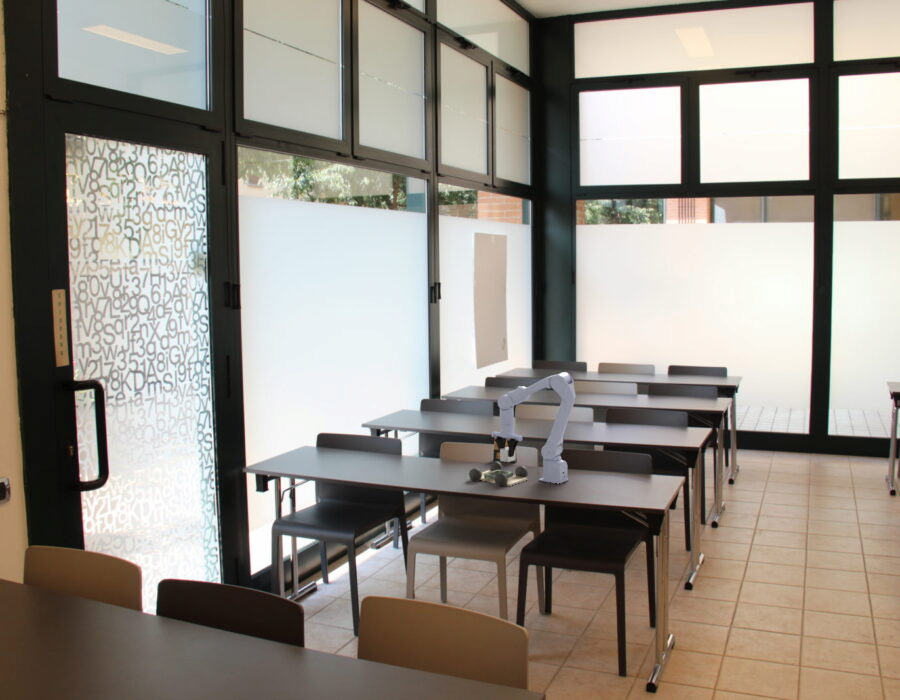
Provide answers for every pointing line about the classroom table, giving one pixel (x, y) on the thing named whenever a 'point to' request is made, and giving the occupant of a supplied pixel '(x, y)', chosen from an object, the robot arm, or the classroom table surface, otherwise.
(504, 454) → the engine block
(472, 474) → the chassis
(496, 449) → the ammunition clip
